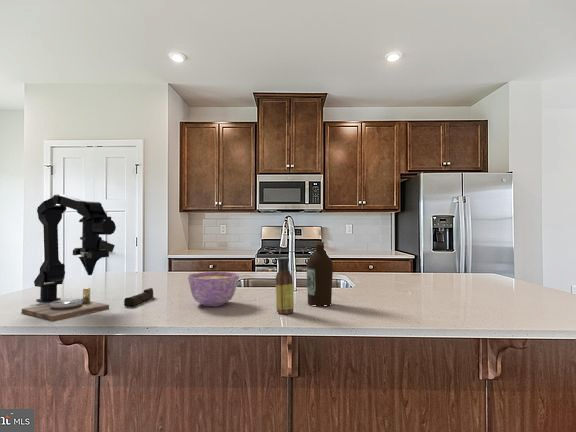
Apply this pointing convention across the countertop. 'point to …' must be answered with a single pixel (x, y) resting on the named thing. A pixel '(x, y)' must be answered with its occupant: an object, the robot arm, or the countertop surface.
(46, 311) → the dial panel
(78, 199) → the robot arm
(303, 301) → the countertop surface
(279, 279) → the sauce bottle
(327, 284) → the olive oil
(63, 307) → the dial
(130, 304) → the hand tool
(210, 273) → the bowl of food
